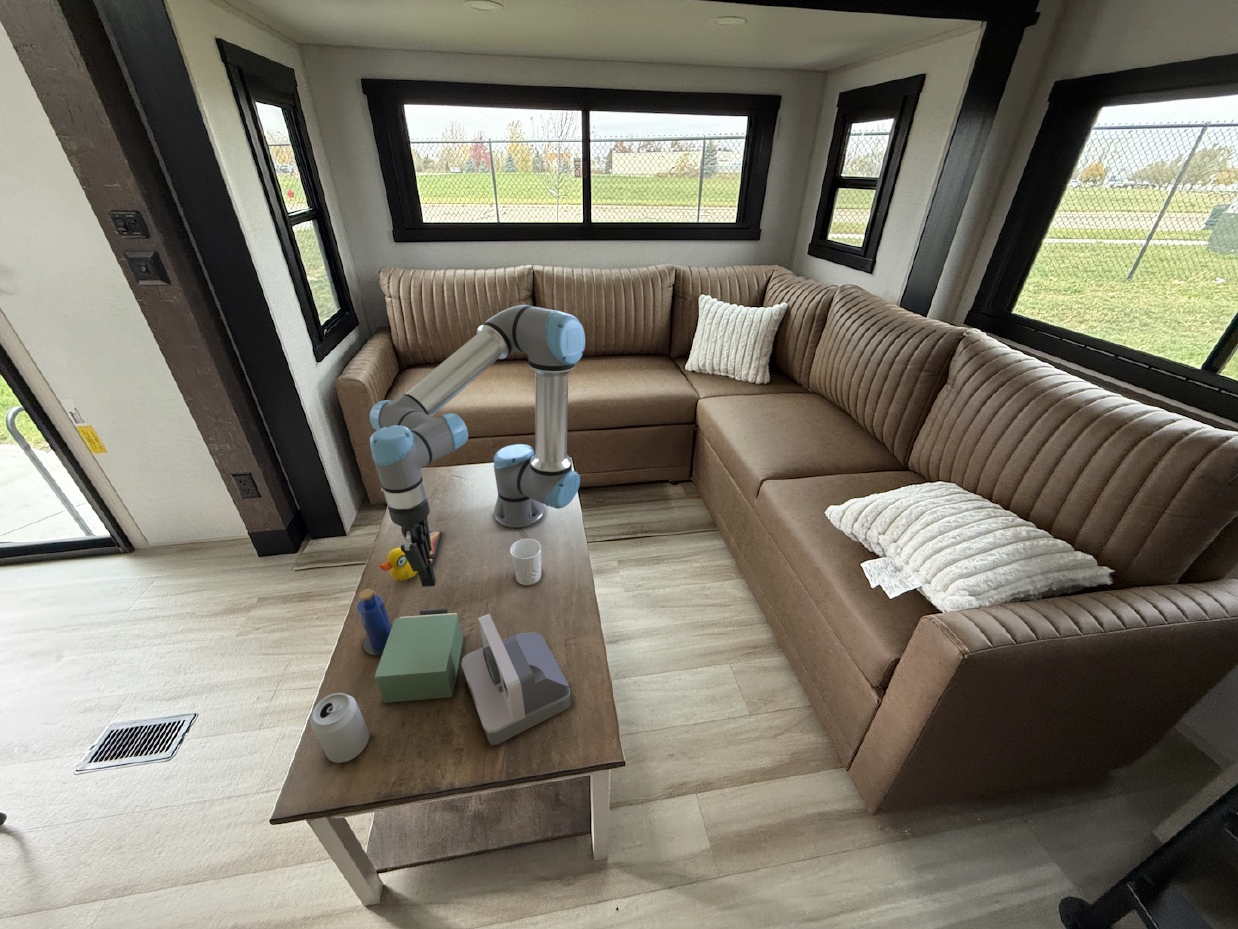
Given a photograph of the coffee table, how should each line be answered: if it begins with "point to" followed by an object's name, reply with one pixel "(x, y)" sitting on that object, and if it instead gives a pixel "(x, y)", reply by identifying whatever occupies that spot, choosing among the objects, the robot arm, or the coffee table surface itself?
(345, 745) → the can
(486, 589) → the coffee table surface
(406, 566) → the duckling
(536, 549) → the white cup
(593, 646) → the coffee table surface
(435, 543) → the smartphone
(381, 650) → the coaster
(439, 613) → the drawer
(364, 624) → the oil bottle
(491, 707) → the grey stand
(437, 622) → the cabinet
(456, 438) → the robot arm
